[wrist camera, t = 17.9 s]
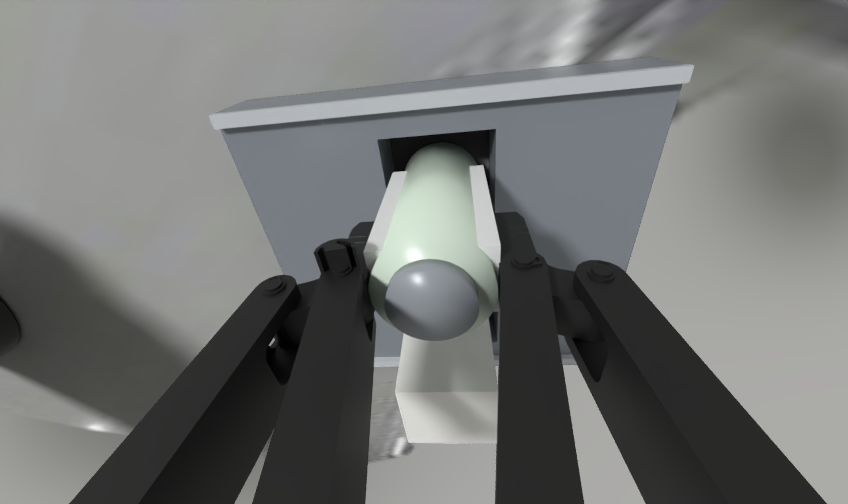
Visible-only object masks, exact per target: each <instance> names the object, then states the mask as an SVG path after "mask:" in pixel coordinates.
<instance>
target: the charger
mask: <svg viewBox="0 0 848 504" xmlns="http://www.w3.org/2000/svg"><path fill="white" fill-rule="evenodd" d="M395 394H396V398H397V401H398V405H399V409H400V412H401V416H402V420H403V424H404V427H405V431H406V435H407V438H408V442H409V443H478V444H497V410H498V386H497V378H496V371H495V363H494V355H493V347H492V339H491V332H490V324H489V318H488V319H487V320H486V321H485V322H484V323H483V324H482V325H480V326H479V327H478V328H476V329H474V330H473V331H471V332H468V333H466V334H463V335H461V336H458V337H455V338H453V339H449V340H443V341H426V340H420V339H416V338H413V337H411V336H408V335H406V334H404V335H403V341H402V348H401V355H400V362H399V369H398V376H397V382H396V389H395Z"/></svg>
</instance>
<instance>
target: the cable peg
mask: <svg viewBox="0 0 848 504" xmlns="http://www.w3.org/2000/svg"><path fill="white" fill-rule="evenodd" d="M470 166H477V163H476V161H475V160H474V158H473V157H472V156H471V154H470V153H469V152H467V151H466V150H465V149H463V148H462V147H460V146H458V145H455V144H452V143H446V142H437V143H432V144H429V145H426V146H424V147H422V148H421V149H419V150H418V151H417V152H415V153H414V154H413V156H412V157H411V158H410V160H409V161H408V163H407V165H406V168H405V171H407V173H406V176H405V179H404V183H403V186H402V189H401V192H400V195H399V198H398V202H397V205H396V208H395V211H394V214H393V218H392V221H391V224H390V227H389V230H388V234H387V237H386V240H385V243H384V246H383V250H382V252H381V253H380V255H379V256H378V257H377V259H376V261H375V263H374V266H373V269H372V272H371V275H370V278H369V284H368V291H369V295H370V299H371V303H372V305H373V307H374V309H375V310H376V312H377V313H378V314H379V315H380V316H381V317H382V319H383V320H385V321H386V322H387V323H388V324H390V325H391V326H393V327H394V328H396V329H398V330H400V331H401V332H403V333H404V334H406V335H408V336H411V337H413V338H416V339H420V340H426V341H443V340H449V339H453V338H455V337H458V336H461V335H463V334H466V333H468V332H471V331H473V330H474V329H476V328H478V327H479V326H480V325H482V324H483V323H484V322H485V321H486V320H487V319H488V318H489V317H490V315H491V314H492V312H493V311H494V309H495V306H496V303H497V300H498V285H497V279H496V274H495V270H494V267H493V265H492V262H491V261H490V259H489V258H488V256H487V255H486V254H485V253H484V251H483V250H481V249H480V248H479V247H478V242H477V233H476V223H475V214H474V204H473V195H472V185H471V176H470Z"/></svg>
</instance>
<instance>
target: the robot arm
mask: <svg viewBox="0 0 848 504" xmlns="http://www.w3.org/2000/svg"><path fill="white" fill-rule="evenodd" d="M406 173H407V171H401V172H393V173H392V176H391V179H390V181H389V184H388V187H387V189H386V192H385V195H384V198H383V200H382V203H381V206H380V208H379V211H378V214H377V216H376V219H375V221H371V222H360V223H358V224H357V225H356V226H355V227H354V228H353V229H352V230H351V232H350V235H349V238H348V239H346V238H340V239H333V240H329V241H327V242H325V243H322V244H321V245H320V246H318V247H317V248H316V249H315V251H314V252H313V253H314V255H315V258H316V261H317V264H318V267H319V269H320V272H321V275H320V278H319V279H316V280H313V281H309V282H305V283H301V284H297V282H296V280H295V278H293V277H292V276H289V275H278V276H274V277H271V278H268V279H267V280H265V281H263V282H261V283H260V284H259V285H258V286H257V287H256V288H255V289H254V290H253V291H252V293H251V294H250V295H249V296H248V297H247V298H246V299H245V301H244V302H243V303H242V304H241V305H240V306H239V308H238V309H237V310H236V311H235V312H234V313H233V315H232V316H231V317H230V318H229V319H228V320H227V322H226V323H225V324H224V325H223V326H222V327H221V328H220V330H219V331H218V332H217V333H216V334H215V335H214V337H213V338H212V339H211V340H210V341H209V342H208V344H207V345H206V346H205V347H204V348H203V349H202V350H201V352H200V353H199V354H198V355H197V356H196V357H195V359H194V360H193V361H192V362H191V363H190V364H189V366H188V367H187V368H186V369H185V370H184V371H183V373H182V374H181V375H180V376H179V377H178V378H177V379H176V381H175V382H174V383H173V384H172V385H171V386H170V388H169V389H168V390H167V391H166V392H165V393H164V395H163V396H162V397H161V398H160V399H159V400H158V402H157V403H156V404H155V405H154V406H153V407H152V408H151V410H150V411H149V412H148V413H147V414H146V415H145V417H144V418H143V419H142V420H141V421H140V422H139V424H138V425H137V426H136V427H135V428H134V429H133V431H132V432H131V433H130V434H129V435H128V436H127V437H126V439H125V440H124V441H123V442H122V443H121V445H120V446H119V447H118V448H117V449H116V450H115V451H114V453H113V454H112V455H111V456H110V457H109V458H108V460H107V461H106V462H105V463H104V464H103V465H102V466H101V468H100V469H99V470H98V471H97V472H96V474H95V475H94V476H93V477H92V478H91V479H90V480H89V482H88V483H87V484H86V485H85V486H84V487H83V489H82V490H81V491H80V492H79V493H78V494H77V495H76V497H75V498H74V499H73V500H72V501H71V502H70V504H234V503H235V501H236V499H237V497H238V495H239V493H240V492H241V489H242V488H243V486H244V484H245V482H246V480H247V478H248V476H249V474H250V473H251V471H252V469H253V467H254V465H255V463H256V461H257V459H258V457H259V456H260V454H261V452H262V450H263V448H264V446H265V444H266V442H267V440H268V438H269V437H270V435H271V433H272V431H273V429H274V427H275V429H274V432H273V435H272V439H271V442H270V445H269V449H268V452H267V455H266V459H265V462H264V466H263V469H262V472H261V476H260V479H259V482H258V486H257V489H256V492H255V496H254V499H253V502H252V504H365V498H366V482H367V465H368V451H369V435H370V419H371V403H372V387H373V371H374V355H375V339H376V321H375V317H374V312H375V309H374V307H373V305H372V303H371V299H370V295H369V291H368V284H369V278H370V275H371V272H372V269H373V266H374V263H375V261H376V259H377V257H378V256H379V255H380V253H381V252H382V250H383V246H384V243H385V240H386V237H387V234H388V230H389V227H390V224H391V221H392V218H393V214H394V211H395V208H396V205H397V202H398V198H399V195H400V192H401V189H402V186H403V183H404V179H405V176H406ZM470 176H471V185H472V195H473V204H474V214H475V223H476V233H477V242H478V247H479V248H480V249H481V250H483V251H484V253H485V254H486V255H487V256H488V258H489V259H490V261H491V262H492V265H493V267H494V270H495V274H496V279H497V285H498V300H497V303H496V306H495V309H494V311H493V312H499V306H500V328H499V370H498V371H499V373H498V410H497V451H496V453H497V454H496V491H495V504H584V500H583V494H582V487H581V481H580V474H579V467H578V462H577V455H576V449H575V442H574V435H573V429H572V423H571V416H570V409H569V403H568V396H567V390H566V384H565V377H564V371H563V364H562V358H561V351H560V345H559V338H558V335H562V336H564V338H565V341H566V343H567V345H568V347H569V349H570V351H571V353H572V355H573V357H574V359H575V361H576V363H577V365H578V367H579V369H580V371H581V373H582V375H583V377H584V379H585V381H586V383H587V386H588V388H589V389H590V392H591V394H592V396H593V397H594V400H595V401H596V404H597V406H598V408H599V410H600V412H601V414H602V416H603V418H604V420H605V422H606V424H607V426H608V428H609V430H610V432H611V434H612V436H613V438H614V440H615V442H616V444H617V446H618V448H619V450H620V452H621V454H622V457H623V459H624V461H625V463H626V464H627V467H628V469H629V471H630V473H631V475H632V477H633V479H634V481H635V483H636V485H637V487H638V489H639V491H640V493H641V495H642V497H643V499H644V501H645V503H646V504H827V503H826V502H825V501H824V500H823V499H822V498H821V496H820V495H819V494H818V493H817V492H816V491H815V490H814V488H813V487H812V486H811V485H810V484H809V483H808V482H807V480H806V479H805V478H804V477H803V476H802V475H801V473H800V472H799V471H798V470H797V469H796V468H795V466H794V465H793V464H792V463H791V462H790V461H789V460H788V458H787V457H786V456H785V455H784V454H783V453H782V452H781V450H780V449H779V448H778V447H777V446H776V445H775V444H774V442H773V441H772V440H771V439H770V438H769V437H768V435H767V434H766V433H765V432H764V431H763V430H762V429H761V427H760V426H759V425H758V424H757V423H756V422H755V421H754V419H753V418H752V417H751V416H750V415H749V414H748V412H747V411H746V410H745V409H744V408H743V407H742V406H741V405H740V403H739V402H738V401H737V400H736V399H735V398H734V397H733V395H732V394H731V393H730V392H729V391H728V390H727V388H726V387H725V386H724V385H723V384H722V383H721V381H720V380H719V379H718V378H717V377H716V376H715V375H714V373H713V372H712V371H711V370H710V369H709V368H708V366H707V365H706V364H705V363H704V362H703V361H702V360H701V358H700V357H699V356H698V355H697V354H696V353H695V352H694V350H693V349H692V348H691V347H690V346H689V345H688V344H687V342H686V341H685V340H684V339H683V338H682V337H681V335H680V334H679V333H678V332H677V331H676V330H675V329H674V327H673V326H672V325H671V324H670V323H669V322H668V320H667V319H666V318H665V317H664V316H663V315H662V314H661V312H660V311H659V310H658V309H657V308H656V307H655V306H654V304H653V303H652V302H651V301H650V300H649V299H648V298H647V296H646V295H645V294H644V293H643V292H642V291H641V290H640V288H639V287H638V286H637V285H636V284H635V283H634V281H633V280H632V279H631V278H630V277H629V276H628V275H627V273H626V272H625V271H624V270H622V269H621V268H620V267H619V266H617V265H615V264H612V263H610V262H606V261H601V260H589V261H584V262H582V263H580V264H579V265H577V268H576V270H575V271H570V270H564V269H559V268H555V267H552V266H549V265H547V262H546V260H545V258H544V257H542V256H541V255H540V254H538V253H537V252H536V250H535V247H534V244H533V241H532V239H531V236H530V233H529V230H528V228H527V225H526V222H525V219H524V217H522V216H521V215H520V214H518V213H517V212H502V213H494V212H493V208H492V203H491V199H490V194H489V189H488V185H487V180H486V176H485V171H484V167H483V165H478V166H470ZM19 338H20V331H19V327H18V324H17V322H16V320H15V319H14V317H13V315H12V314H11V312H10V311H9V310H8V309H7V307H6V306H5V305H4V304H3V303H2V302H1V301H0V357H1V356H3V355H4V354H5V353H7V352H8V351H9V350H11V349H12V348H13V347H14V346H16V344H17V343H18V341H19ZM273 338H275V341H274V342H273V344H272V345H271V346H269V344H270V342H271V341H272V339H273Z"/></svg>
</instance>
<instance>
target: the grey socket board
mask: <svg viewBox="0 0 848 504" xmlns="http://www.w3.org/2000/svg"><path fill="white" fill-rule="evenodd" d="M693 68H694V65H690V64H685V63H680V62H675V61H670V60H665V59H660V58H655V57H643V58H634V59H625V60H615V61H606V62H597V63H587V64H578V65H569V66H560V67H550V68H541V69H532V70H523V71H513V72H504V73H495V74H485V75H476V76H467V77H458V78H448V79H439V80H430V81H421V82H411V83H402V84H393V85H384V86H374V87H365V88H356V89H346V90H337V91H328V92H319V93H309V94H300V95H291V96H282V97H272V98H263V99H254V100H246V101H243V102H241V103H238V104H236V105H233V106H231V107H229V108H226V109H224V110H221V111H219V112H216V113H214V114H211V115H209V116H208V117H209V119H210V121H211V123H212V125H213V128H214V130H216V129H220V130H221V132H222V135H223V137H224V139H225V141H226V144H227V146H228V148H229V151H230V153H231V155H232V157H233V160H234V162H235V164H236V167H237V169H238V171H239V173H240V176H241V178H242V180H243V182H244V185H245V187H246V189H247V192H248V194H249V196H250V198H251V201H252V203H253V205H254V208H255V210H256V212H257V214H258V217H259V219H260V221H261V224H262V226H263V228H264V230H265V233H266V235H267V237H268V240H269V242H270V244H271V246H272V249H273V251H274V253H275V256H276V258H277V260H278V262H279V265H280V267H281V269H282V272H283V274H284V275H289V276H292V277H293V278H295V280H296V282H297V284H301V283H305V282H309V281H313V280H316V279H319V278H320V275H321V272H320V269H319V267H318V264H317V261H316V258H315V255H314V253H313V252H314V251H315V249H316V248H317V247H318V246H320V245H321V244H322V243H325V242H327V241H329V240H333V239H340V238H346V239H348V238H349V235H350V232H351V230H352V229H353V228H354V227H355V226H356V225H357V224H358V223H360V222H371V221H375V219H376V216H377V214H378V211H379V208H380V206H381V203H382V200H383V198H384V195H385V192H386V189H387V187H388V184H389V181H390V179H391V176H392V173H393V172H395V168H394V162H393V156H392V149H391V143H390V138H400V137H411V136H422V135H433V134H445V133H456V132H467V131H478V130H489V129H490V156H489V194H490V199H491V203H492V208H493V212H494V213H502V212H517V213H518V214H520V215H521V216H522V217H524V219H525V222H526V225H527V228H528V230H529V233H530V236H531V239H532V241H533V244H534V247H535V250H536V252H537V253H538V254H540V255H541V256H542V257H544V258H545V260H546V262H547V265H549V266H552V267H555V268H559V269H564V270H570V271H575V270H576V268H577V265H579V264H580V263H582V262H584V261H589V260H601V261H606V262H610V263H612V264H615V265H617V266H619V267H620V268H621V269H622V270H624V271H625V272H626V270H627V267H628V263H629V260H630V257H631V253H632V250H633V247H634V243H635V240H636V236H637V233H638V230H639V227H640V223H641V220H642V217H643V213H644V210H645V207H646V203H647V200H648V197H649V193H650V190H651V187H652V183H653V180H654V177H655V173H656V170H657V166H658V163H659V160H660V156H661V153H662V150H663V147H664V143H665V140H666V137H667V133H668V130H669V127H670V123H671V120H672V117H673V113H674V110H675V107H676V103H677V100H678V97H679V93H680V90H681V87H682V84H683V83H689V81H690V78H691V75H692V72H693ZM374 317H375V321H376V339H375V355H374V367H399V362H400V355H401V348H402V341H403V335H404V333H403V332H401V331H400V330H398V329H396V328H394V327H393V326H391V325H390V324H388V323H387V322H386V321H385V320H383V319H382V317H381V316H380V315H379V314H378V313H377V312H376V310H375V312H374ZM489 324H490V332H491V339H492V347H493V355H494V363H495V366H499V328H500V306H499V312H492V314H491V315H490V317H489ZM558 338H559V345H560V351H561V358H562V364H563V365H577V363H576V361H575V359H574V357H573V355H572V353H571V351H570V349H569V347H568V345H567V343H566V341H565V338H564V336H562V335H558Z"/></svg>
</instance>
